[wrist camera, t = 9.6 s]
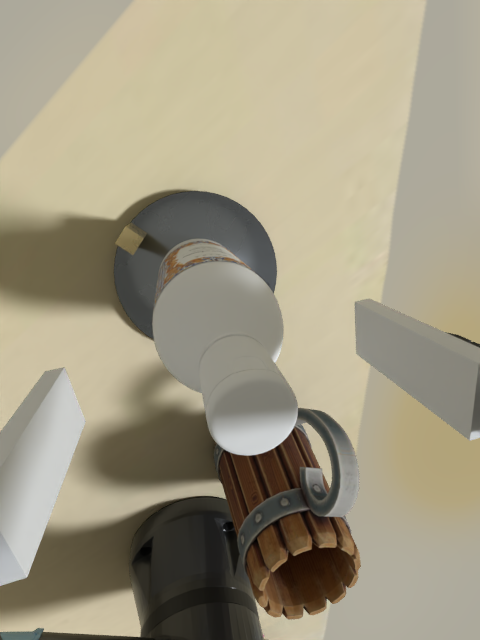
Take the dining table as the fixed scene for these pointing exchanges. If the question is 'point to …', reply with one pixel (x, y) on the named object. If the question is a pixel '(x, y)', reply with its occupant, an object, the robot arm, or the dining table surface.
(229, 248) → the disc
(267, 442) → the bath foam
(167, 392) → the dining table surface
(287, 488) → the mug
